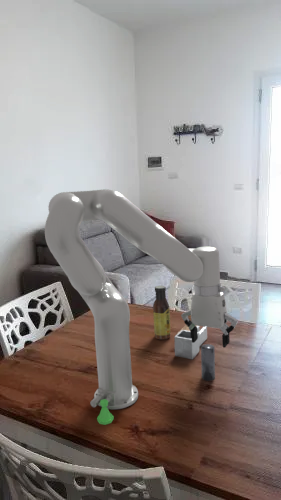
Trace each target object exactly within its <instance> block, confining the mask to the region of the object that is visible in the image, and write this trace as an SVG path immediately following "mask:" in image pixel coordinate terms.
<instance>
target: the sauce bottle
mask: <svg viewBox="0 0 281 500" xmlns="http://www.w3.org/2000/svg"><path fill="white" fill-rule="evenodd" d="M154 292H155V300H154V301H153V304H152V308H153V313H152V314H153V329H154V330H153V331H154V332H153V333H154V338H156V339H157V340H168V339H169V338H170V337H171V310H170V309H171V308H170V305H169V302H168V299H167V296H166V295H167V293H166V286H165V285H156V286H155V287H154Z"/></svg>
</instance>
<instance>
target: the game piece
mask: <svg viewBox="0 0 281 500" xmlns="http://www.w3.org/2000/svg"><path fill="white" fill-rule="evenodd" d="M100 406H102V407H101V410H100V412H99V414H98V416H97V418H96V420H97V422H98V423H99V425H105V426H106V425H110V424H111V423H112V422H113V420H114V417H115V416H114V415H113V414H112V412H110V411H109V410H110V409H108V408H107V406H108V400H106V399H103V400H100ZM100 406H99V407H100Z"/></svg>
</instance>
